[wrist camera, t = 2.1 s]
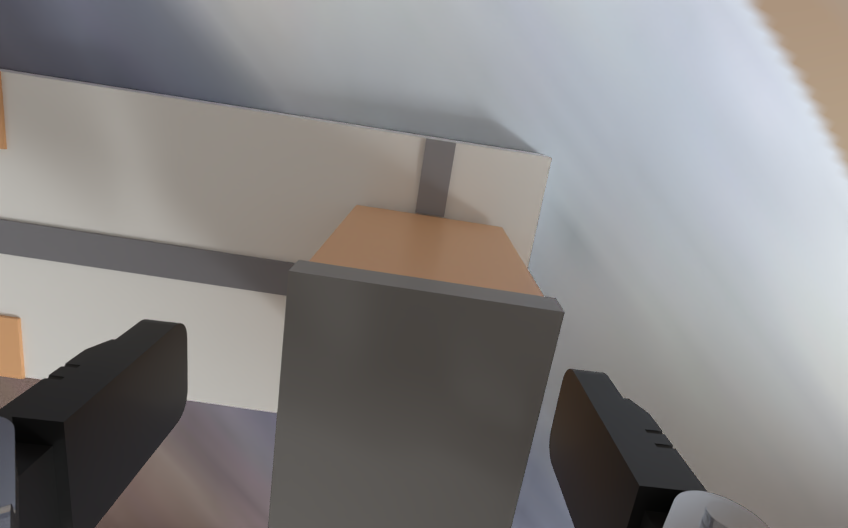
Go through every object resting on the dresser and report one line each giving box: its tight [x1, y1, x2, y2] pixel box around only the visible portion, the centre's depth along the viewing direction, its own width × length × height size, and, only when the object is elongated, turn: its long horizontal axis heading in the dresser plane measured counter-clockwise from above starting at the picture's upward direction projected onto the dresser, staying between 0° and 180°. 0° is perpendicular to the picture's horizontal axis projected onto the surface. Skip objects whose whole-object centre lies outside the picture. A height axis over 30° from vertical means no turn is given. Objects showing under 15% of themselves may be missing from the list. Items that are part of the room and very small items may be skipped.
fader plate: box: [0, 69, 552, 413], centre depth 15 cm, size 18×9×2 cm, turn 81°
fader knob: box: [268, 205, 564, 528], centre depth 11 cm, size 4×5×6 cm
